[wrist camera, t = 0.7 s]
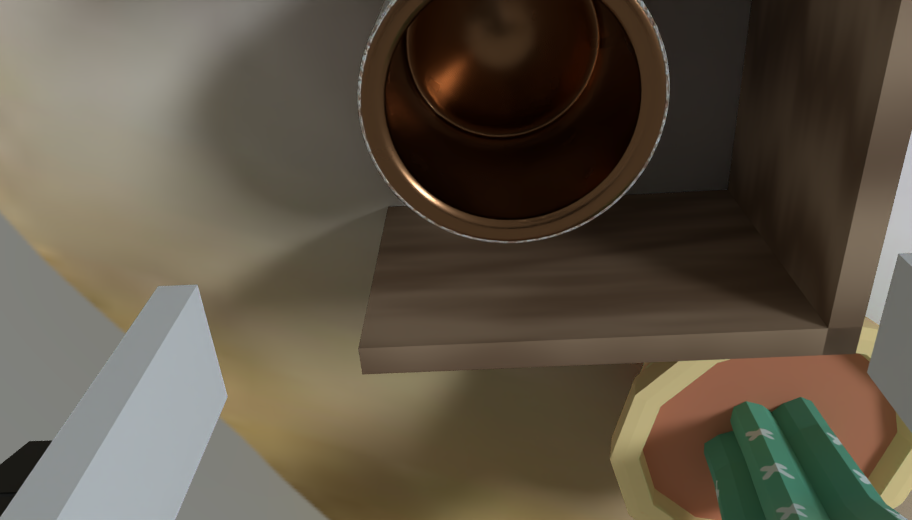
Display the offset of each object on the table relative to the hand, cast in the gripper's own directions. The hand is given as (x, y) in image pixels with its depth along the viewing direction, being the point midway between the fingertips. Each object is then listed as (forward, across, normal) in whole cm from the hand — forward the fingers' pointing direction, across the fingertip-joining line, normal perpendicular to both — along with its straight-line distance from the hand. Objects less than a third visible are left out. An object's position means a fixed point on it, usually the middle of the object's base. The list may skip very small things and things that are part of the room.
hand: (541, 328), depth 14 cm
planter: (+23, 0, 0) cm, 23 cm away
